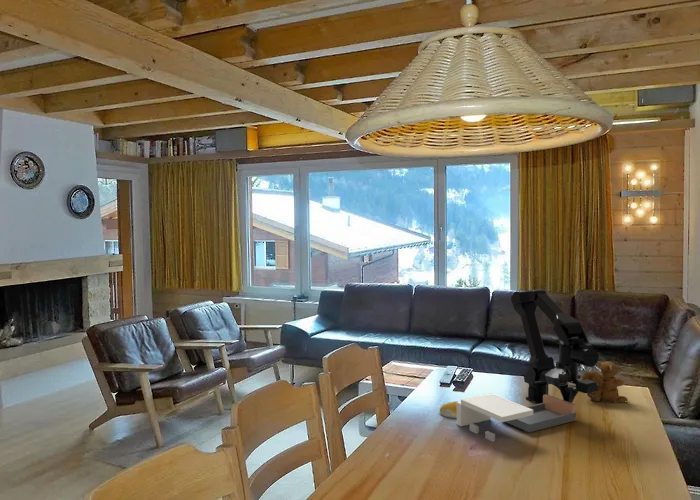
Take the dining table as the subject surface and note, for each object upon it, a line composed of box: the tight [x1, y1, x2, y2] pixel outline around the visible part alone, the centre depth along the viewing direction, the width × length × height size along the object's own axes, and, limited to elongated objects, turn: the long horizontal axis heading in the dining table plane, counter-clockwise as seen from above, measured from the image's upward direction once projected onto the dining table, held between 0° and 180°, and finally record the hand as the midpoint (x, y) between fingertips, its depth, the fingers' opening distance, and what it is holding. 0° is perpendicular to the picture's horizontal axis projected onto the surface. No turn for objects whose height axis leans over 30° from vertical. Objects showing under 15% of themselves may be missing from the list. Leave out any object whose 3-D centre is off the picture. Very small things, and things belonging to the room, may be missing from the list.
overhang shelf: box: [456, 392, 533, 443], centre depth 174 cm, size 12×20×8 cm, turn 28°
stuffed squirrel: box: [580, 360, 629, 403], centre depth 203 cm, size 10×14×13 cm
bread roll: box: [439, 400, 458, 419], centre depth 190 cm, size 8×9×4 cm
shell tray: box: [505, 394, 577, 433], centre depth 182 cm, size 20×12×5 cm, turn 118°
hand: (567, 406), depth 188 cm, fingers closed
